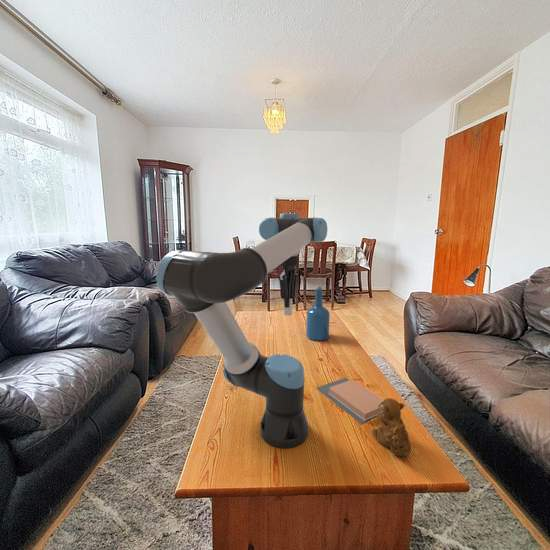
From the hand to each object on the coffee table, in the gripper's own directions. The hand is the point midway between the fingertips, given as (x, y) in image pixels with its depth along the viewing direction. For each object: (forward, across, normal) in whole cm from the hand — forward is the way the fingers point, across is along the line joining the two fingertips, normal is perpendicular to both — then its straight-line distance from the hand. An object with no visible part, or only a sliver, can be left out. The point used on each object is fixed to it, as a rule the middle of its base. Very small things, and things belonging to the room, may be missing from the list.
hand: (288, 314), depth 114 cm
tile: (+28, +6, -20) cm, 35 cm away
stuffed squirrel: (+30, -14, -43) cm, 54 cm away
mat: (+29, +3, -26) cm, 39 cm away
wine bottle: (+29, +53, +8) cm, 61 cm away
